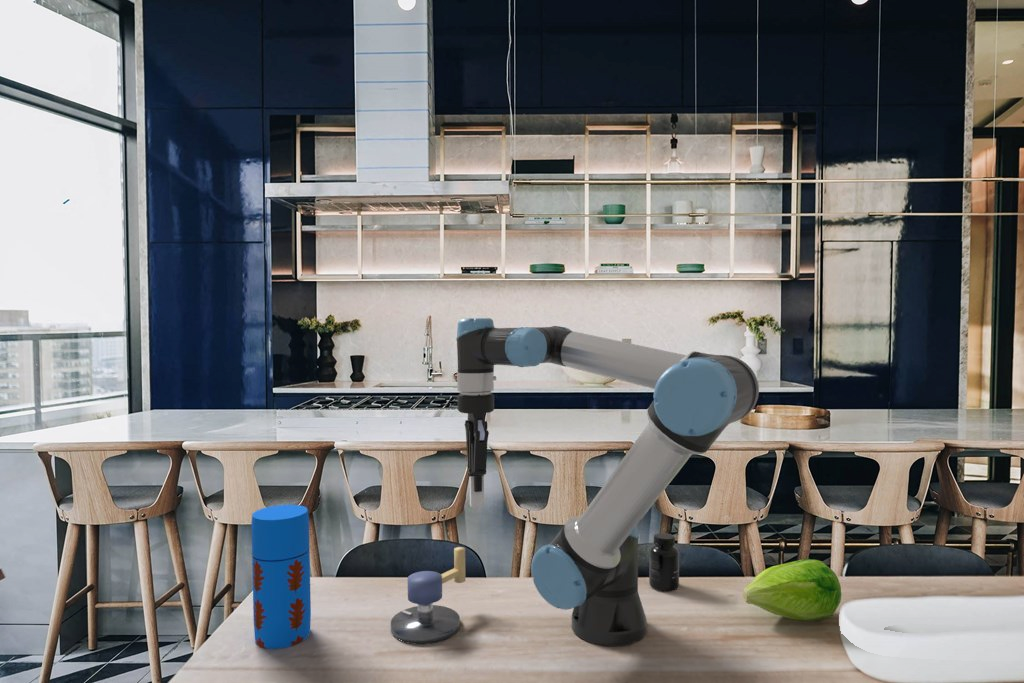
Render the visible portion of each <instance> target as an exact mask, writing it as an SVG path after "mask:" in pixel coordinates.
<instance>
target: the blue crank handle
mask: <svg viewBox="0 0 1024 683" xmlns="http://www.w3.org/2000/svg"><path fill="white" fill-rule="evenodd" d="M453 556H454V557H453V560H454V561H453V565H454V567H453V568H452V569H450V570H447V571H445V572H443V573H440V572H437V571H433V570H421V571H417V572H414V573H411V574H410V575H408V577H407V599H408V600H407V601H409V602H411V603H412V604H415V605H418V604H431V603H433V604H434V603H437V602H439V601H440V600H441V599H442V598H443V584H445V583H447V582H449V581H451V580H453V579H454V582H455V583H457V584H461V583H464V582H466V548H465V547H463V546H462V547H461V546H457V547H454V549H453Z"/></svg>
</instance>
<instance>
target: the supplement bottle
mask: <svg viewBox="0 0 1024 683" xmlns="http://www.w3.org/2000/svg"><path fill="white" fill-rule="evenodd" d="M652 542H653V543H652V544H653V545H652V546H651V547H650V548H649V552H648V554H649V558H648V560H649V570H648V571H649V572H648V574H649V575H648V576H649V577H648V578H649V580H648V582H649V586H650V587H651V588H652V589H653V590H656V591H659V592H664V593H665V592H666V593H668V592H675V591H676V590H678V589H679V587H680V551H679V550H678V547H676V546H675V545H676V537H675V535H673V534H671V533H667V532H658V533H654V535H653V541H652Z"/></svg>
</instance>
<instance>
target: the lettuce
mask: <svg viewBox="0 0 1024 683" xmlns="http://www.w3.org/2000/svg"><path fill="white" fill-rule="evenodd" d="M742 597H743V598H742V599H743V600H744V602H745V603H747V604H749V605H754V606H756V607H759V608H760V609H762V610H764V611H766V612H768V613H771V614H773V615H776V616H781V617H785V618H787V619H790V620H796V621H807V622H808V621H810V622H813V621H815V622H816V621H820V620H824V619H827V618H831V617H833V615H834V614H835V612H836V610H837V609H838V607H839V606H840V603H841V602H842V587H841V584H840V581H839V578H838V576H837V574H836V572H835V571H833V569H831V568H830V567H829V566H828V565H827V564H825V563H824V562H823V561H822V560H819V559H809V558H803V559H799V560H794V561H790V562H789V561H788V562H785V563H782V564H781V563H780V564H777V565H773V566H770V567H768V568H765V569H764V570H762V571H761V572H760V573H758V575H756V576H755V577H754V578H753V580H752V581H751V582H750V583H749V584H748V585H747V586H746V587H745V588H744V589H743V592H742Z"/></svg>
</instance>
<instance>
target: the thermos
mask: <svg viewBox="0 0 1024 683" xmlns="http://www.w3.org/2000/svg"><path fill="white" fill-rule="evenodd" d="M309 517H310V516H309V510H308V508H307V507H306V506H303V505H299V504H279V505H272V506H266V507H264V508H260V509H258V510H256V511H254V512H253V513H252V515H251V561H252V562H251V565H252V569H251V570H252V571H251V572H252V602H253V603H252V604H253V606H252V610H253V628H254V630H253V631H254V641H255V642H254V643H255V644H256V645H257V646H258V647H261V648H264V649H270V650H271V649H272V650H276V649H277V650H278V649H285V648H290V647H294V646H296V645H298V644H300V643H302V642H304V639H305V640H307V638H309V636H310V634H311V623H312V622H311V620H312V619H311V617H312V613H311V612H312V610H311V609H312V607H311V603H312V601H311V599H312V598H311V563H310V562H311V560H310V559H311V558H310V557H311V556H310V549H311V548H310V518H309ZM308 635H309V636H308Z"/></svg>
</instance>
